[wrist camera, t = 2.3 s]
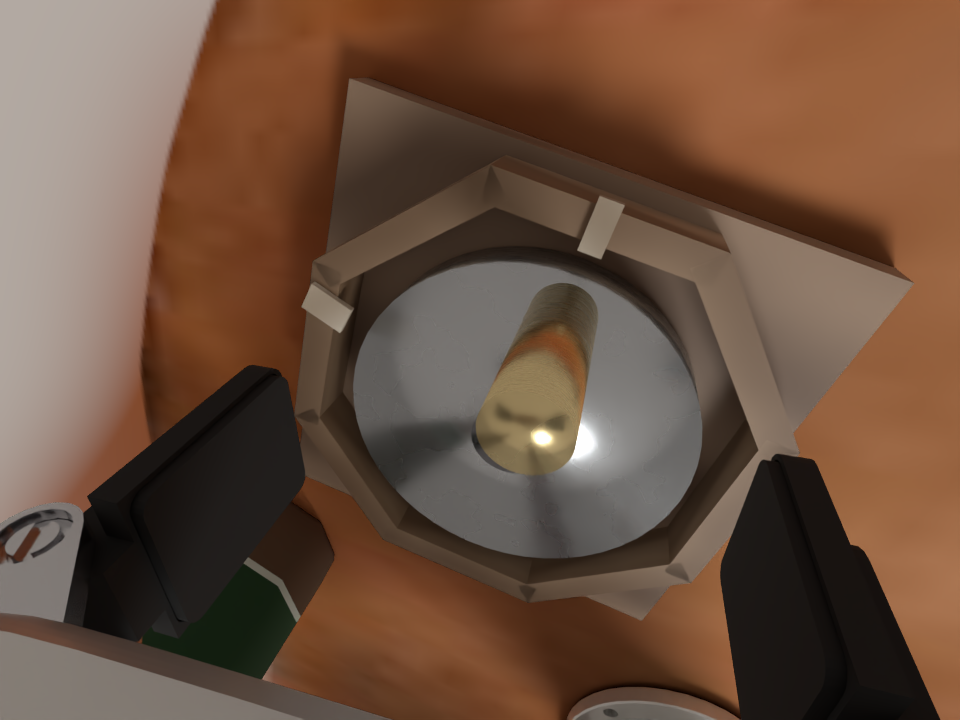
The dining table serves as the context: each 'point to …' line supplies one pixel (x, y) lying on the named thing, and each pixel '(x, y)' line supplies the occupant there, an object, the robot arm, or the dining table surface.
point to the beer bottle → (258, 599)
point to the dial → (530, 403)
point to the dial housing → (606, 242)
